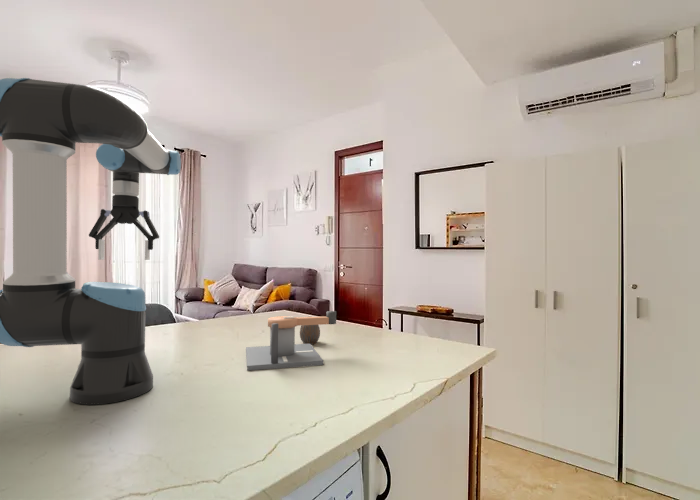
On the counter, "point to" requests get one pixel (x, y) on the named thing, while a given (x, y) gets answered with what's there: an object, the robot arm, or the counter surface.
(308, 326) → the vase
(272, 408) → the counter surface
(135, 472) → the counter surface
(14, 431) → the counter surface
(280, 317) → the wooden cross piece
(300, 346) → the post base
